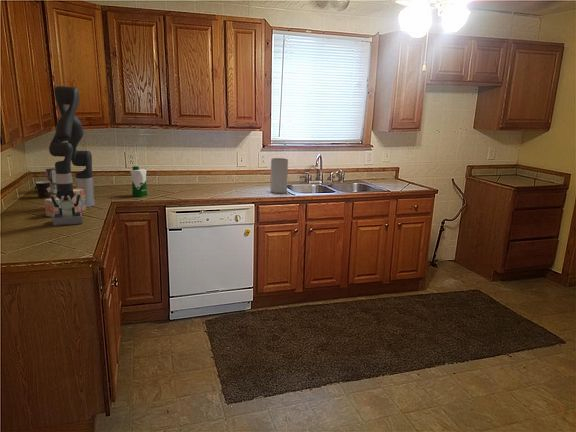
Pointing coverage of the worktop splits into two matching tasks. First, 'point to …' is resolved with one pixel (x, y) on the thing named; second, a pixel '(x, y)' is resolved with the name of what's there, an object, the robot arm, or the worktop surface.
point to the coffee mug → (43, 189)
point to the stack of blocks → (50, 206)
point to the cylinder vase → (279, 175)
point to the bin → (67, 219)
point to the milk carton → (138, 182)
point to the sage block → (66, 208)
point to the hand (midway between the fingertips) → (67, 214)
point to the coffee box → (51, 179)
